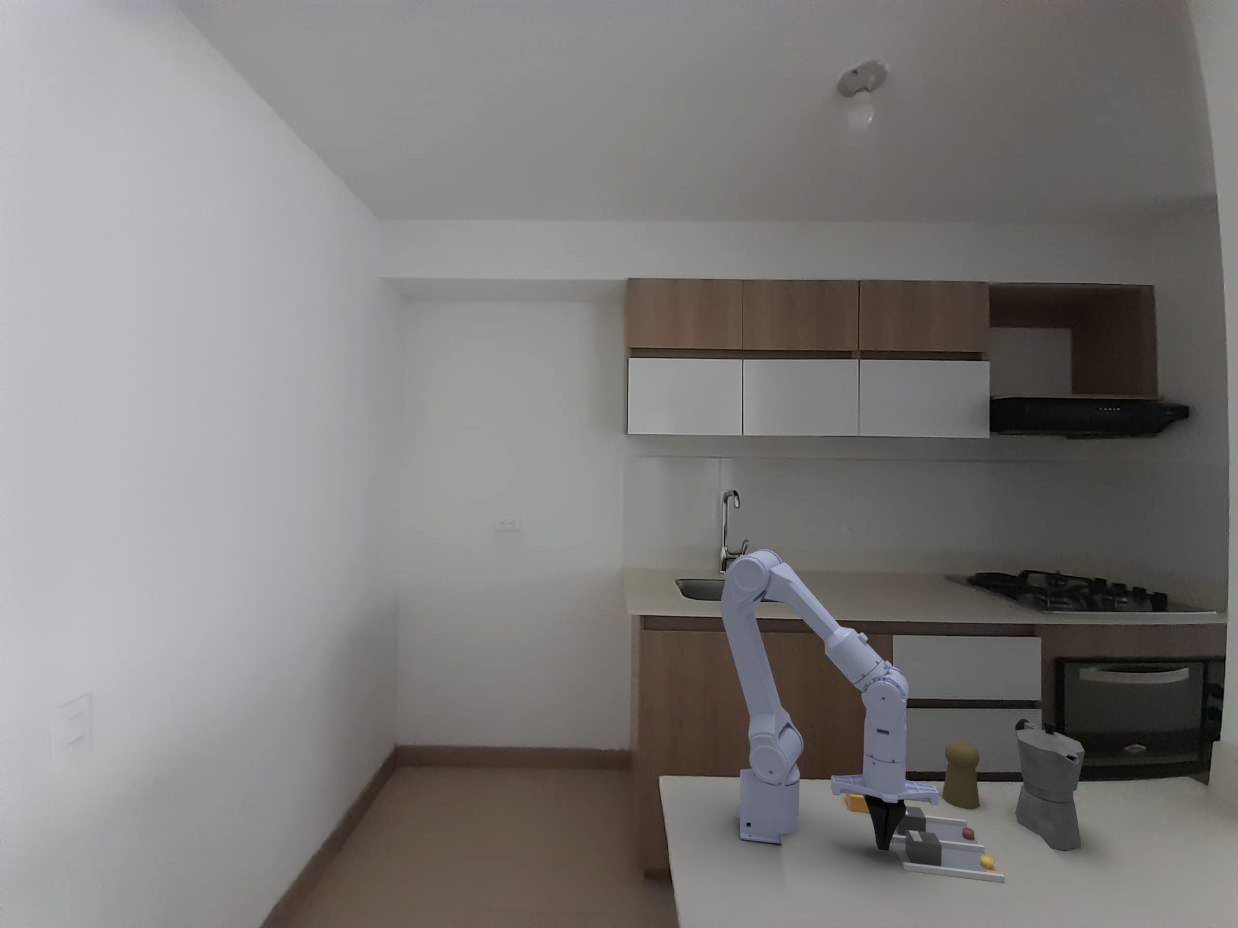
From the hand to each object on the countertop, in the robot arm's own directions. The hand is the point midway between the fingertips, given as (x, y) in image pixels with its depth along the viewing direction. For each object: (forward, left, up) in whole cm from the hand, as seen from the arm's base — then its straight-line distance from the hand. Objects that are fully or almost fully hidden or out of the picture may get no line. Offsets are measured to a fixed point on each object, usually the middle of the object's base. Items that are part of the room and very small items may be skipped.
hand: (882, 846), depth 93 cm
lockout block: (0, +13, -3) cm, 13 cm away
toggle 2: (+6, 0, -1) cm, 6 cm away
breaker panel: (+9, +4, -2) cm, 10 cm away
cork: (+17, +19, -3) cm, 25 cm away
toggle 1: (+6, +7, -1) cm, 9 cm away
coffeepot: (+28, +15, -3) cm, 32 cm away
